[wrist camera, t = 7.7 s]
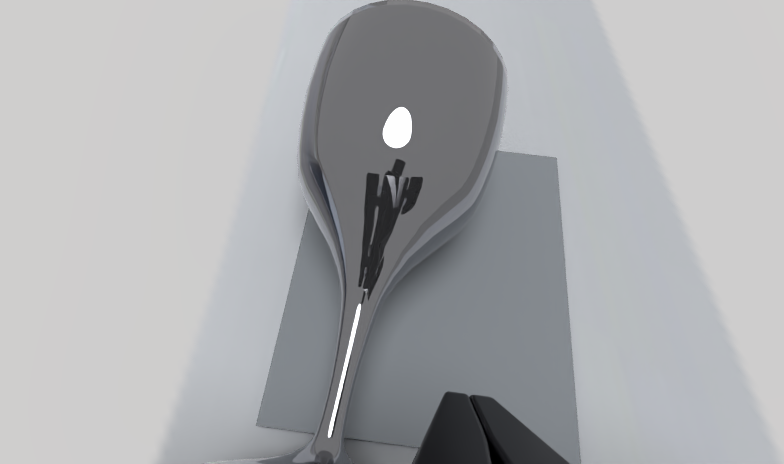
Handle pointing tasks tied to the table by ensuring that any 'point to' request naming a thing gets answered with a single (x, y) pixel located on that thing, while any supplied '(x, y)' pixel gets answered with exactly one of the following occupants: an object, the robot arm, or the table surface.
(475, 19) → the table surface
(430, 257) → the placemat
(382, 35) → the wine glass
